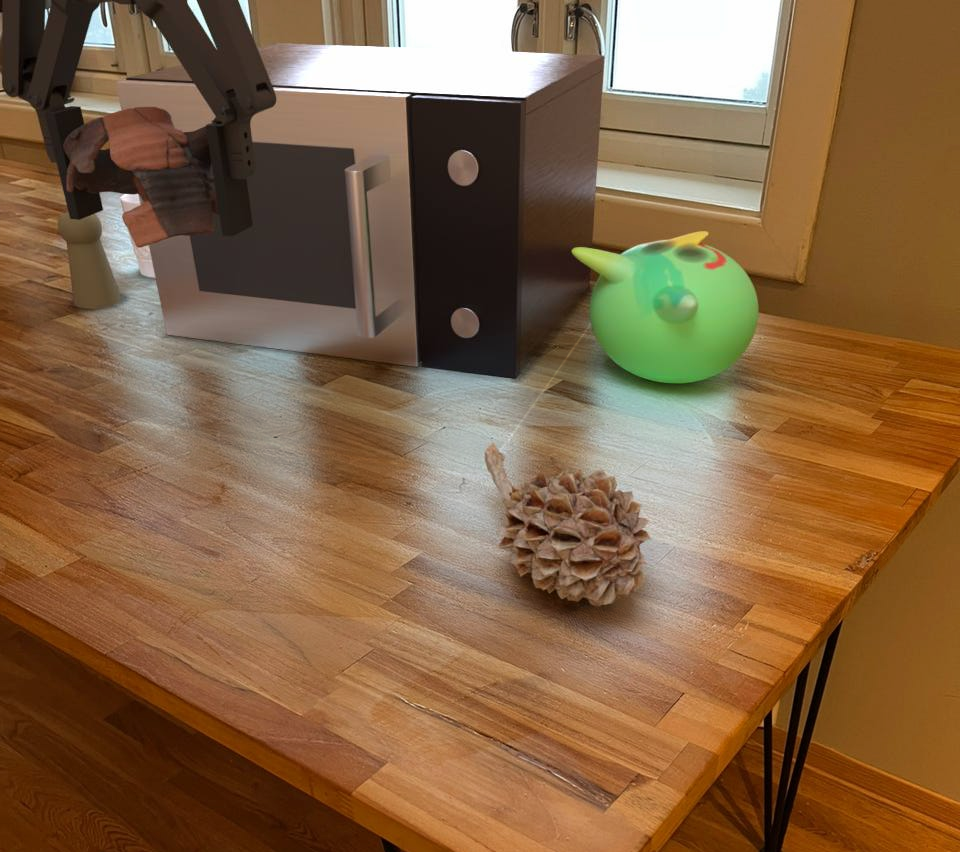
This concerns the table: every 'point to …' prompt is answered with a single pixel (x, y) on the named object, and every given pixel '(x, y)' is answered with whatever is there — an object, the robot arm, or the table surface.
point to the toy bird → (671, 308)
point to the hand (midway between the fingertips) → (160, 222)
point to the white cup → (141, 253)
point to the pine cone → (572, 532)
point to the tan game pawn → (88, 262)
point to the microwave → (480, 184)
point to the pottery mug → (147, 171)
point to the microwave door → (303, 230)
